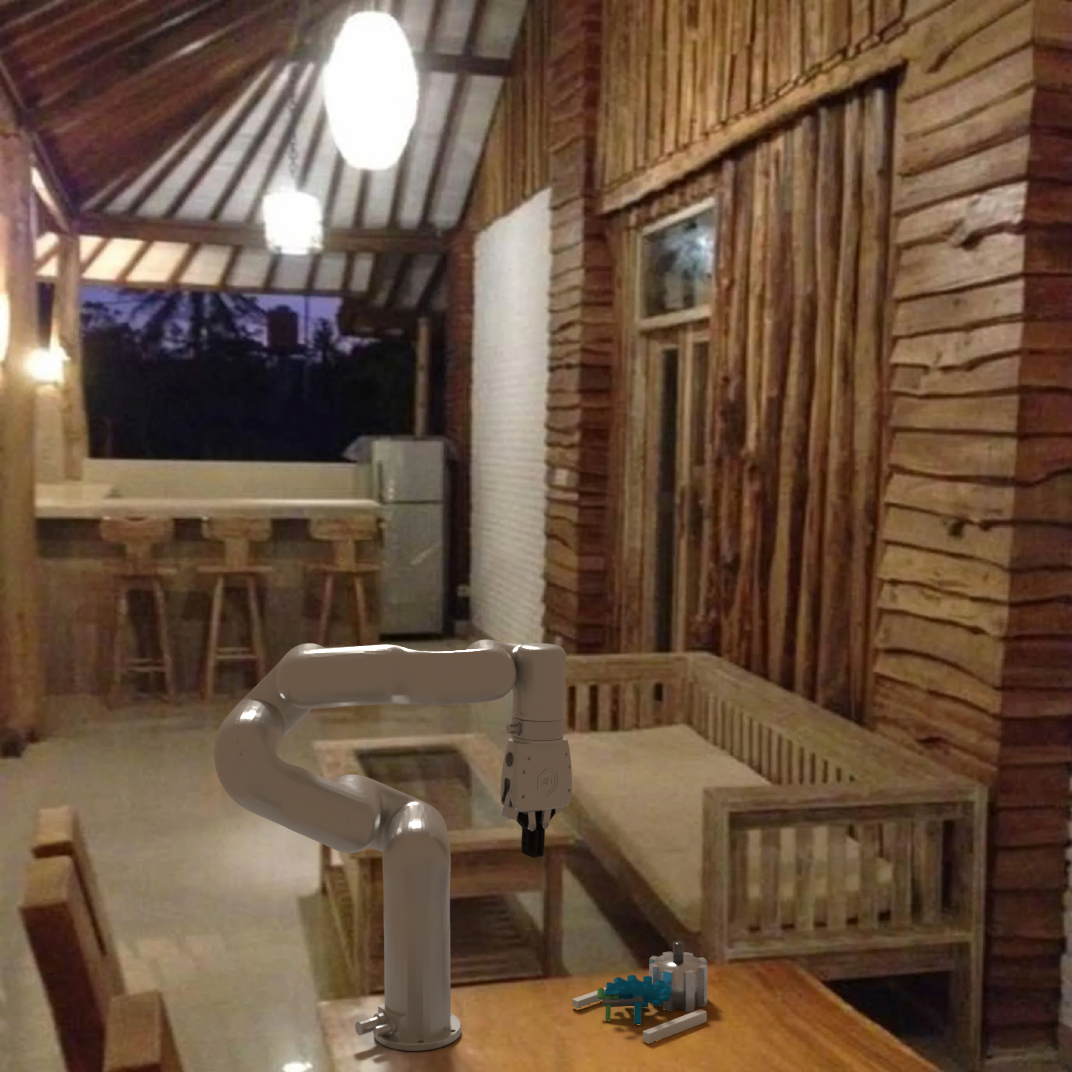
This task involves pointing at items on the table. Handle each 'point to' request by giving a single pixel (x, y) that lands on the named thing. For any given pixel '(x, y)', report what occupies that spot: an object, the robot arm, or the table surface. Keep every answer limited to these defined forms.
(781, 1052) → the table surface
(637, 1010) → the gear
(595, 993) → the guide rails
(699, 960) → the sun gear
